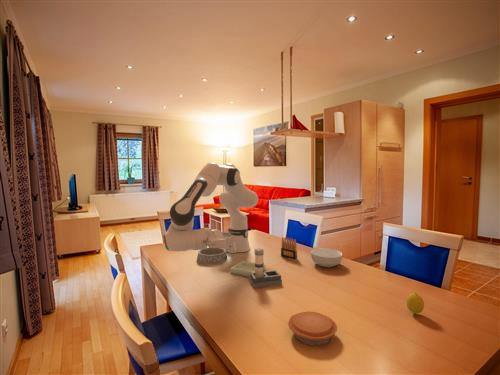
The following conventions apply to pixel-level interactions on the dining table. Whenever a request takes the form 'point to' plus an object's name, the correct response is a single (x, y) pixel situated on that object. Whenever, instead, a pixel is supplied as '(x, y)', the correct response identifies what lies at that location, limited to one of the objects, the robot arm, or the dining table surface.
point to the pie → (312, 327)
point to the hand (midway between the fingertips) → (233, 236)
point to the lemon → (415, 303)
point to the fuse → (259, 263)
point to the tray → (244, 268)
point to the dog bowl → (211, 256)
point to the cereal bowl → (326, 257)
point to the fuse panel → (266, 279)
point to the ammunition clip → (289, 248)
